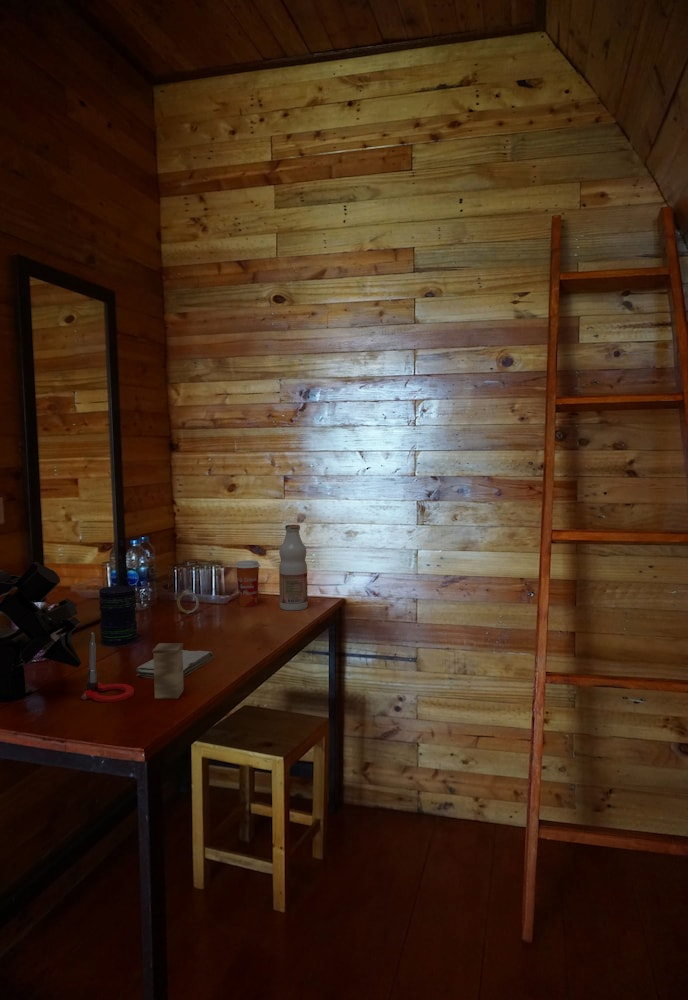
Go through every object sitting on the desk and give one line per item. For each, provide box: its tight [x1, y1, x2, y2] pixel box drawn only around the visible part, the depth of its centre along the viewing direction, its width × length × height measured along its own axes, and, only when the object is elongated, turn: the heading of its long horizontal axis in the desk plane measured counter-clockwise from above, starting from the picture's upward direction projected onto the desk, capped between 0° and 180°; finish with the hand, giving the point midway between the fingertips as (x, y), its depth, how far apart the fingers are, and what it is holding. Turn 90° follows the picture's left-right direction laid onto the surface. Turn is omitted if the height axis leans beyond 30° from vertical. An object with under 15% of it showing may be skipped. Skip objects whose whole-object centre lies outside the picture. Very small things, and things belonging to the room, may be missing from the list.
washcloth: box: [135, 649, 214, 679], centre depth 168 cm, size 12×18×3 cm, turn 164°
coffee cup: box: [235, 559, 261, 608], centre depth 234 cm, size 8×8×15 cm
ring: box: [176, 588, 200, 614], centre depth 223 cm, size 7×3×8 cm, turn 83°
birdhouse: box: [151, 642, 184, 699], centre depth 151 cm, size 5×9×11 cm, turn 0°
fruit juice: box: [278, 524, 309, 612], centre depth 229 cm, size 9×9×28 cm
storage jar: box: [98, 577, 138, 648], centre depth 190 cm, size 10×10×18 cm
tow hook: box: [80, 631, 135, 703], centre depth 149 cm, size 9×14×10 cm
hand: (79, 665), depth 149 cm, fingers closed
